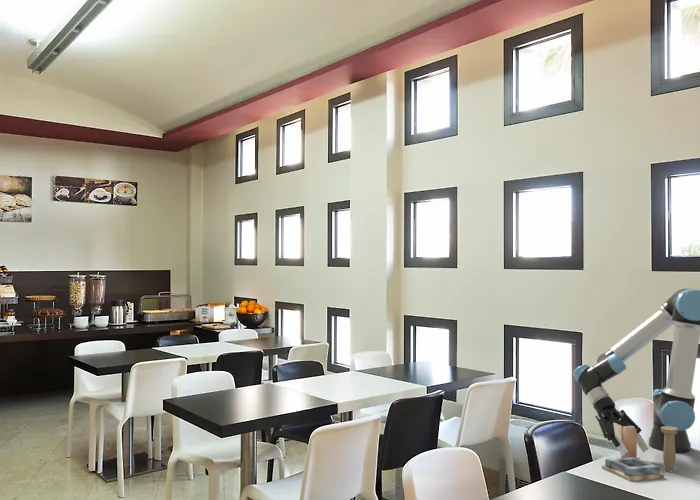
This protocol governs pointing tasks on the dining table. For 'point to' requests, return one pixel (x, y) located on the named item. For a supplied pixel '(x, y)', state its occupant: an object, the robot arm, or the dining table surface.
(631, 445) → the copper orange rectangular block
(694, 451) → the dining table surface
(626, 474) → the square frame tray
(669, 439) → the handle
